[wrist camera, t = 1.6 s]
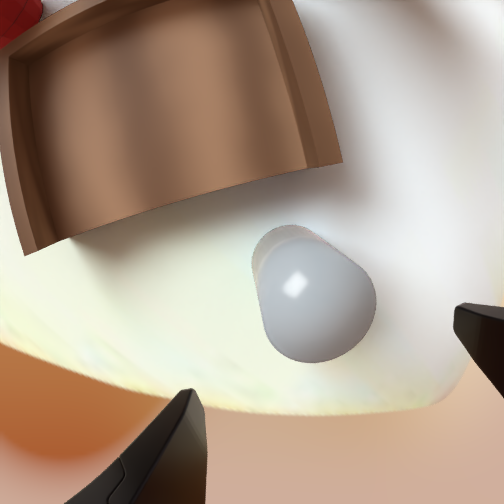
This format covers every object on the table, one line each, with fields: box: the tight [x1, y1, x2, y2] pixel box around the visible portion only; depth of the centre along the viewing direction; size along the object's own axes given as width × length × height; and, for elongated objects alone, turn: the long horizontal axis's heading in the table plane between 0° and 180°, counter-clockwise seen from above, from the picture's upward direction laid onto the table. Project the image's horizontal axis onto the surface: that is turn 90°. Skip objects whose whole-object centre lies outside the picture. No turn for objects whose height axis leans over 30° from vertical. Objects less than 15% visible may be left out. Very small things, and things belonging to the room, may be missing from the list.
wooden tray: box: [0, 0, 343, 256], centre depth 15 cm, size 18×14×6 cm
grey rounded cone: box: [252, 225, 376, 363], centre depth 17 cm, size 5×5×8 cm
